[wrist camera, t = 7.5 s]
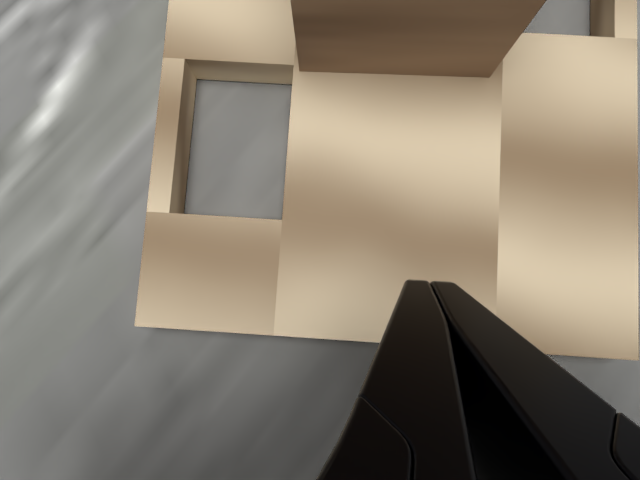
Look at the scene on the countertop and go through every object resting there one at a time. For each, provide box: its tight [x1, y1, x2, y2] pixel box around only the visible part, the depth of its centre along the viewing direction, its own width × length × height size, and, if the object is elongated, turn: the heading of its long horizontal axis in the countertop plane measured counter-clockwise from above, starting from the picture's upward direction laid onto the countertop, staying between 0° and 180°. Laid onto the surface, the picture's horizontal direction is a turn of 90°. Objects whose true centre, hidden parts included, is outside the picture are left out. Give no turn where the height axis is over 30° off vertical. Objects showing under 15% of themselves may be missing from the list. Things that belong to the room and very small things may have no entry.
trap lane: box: [135, 0, 639, 360], centre depth 15 cm, size 18×15×6 cm
